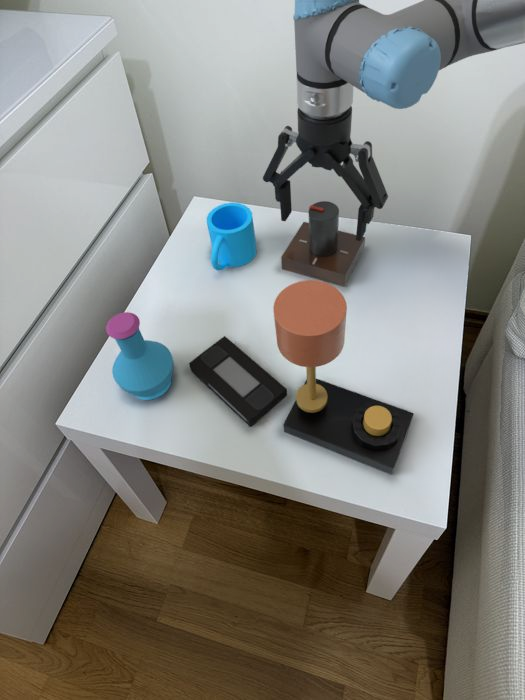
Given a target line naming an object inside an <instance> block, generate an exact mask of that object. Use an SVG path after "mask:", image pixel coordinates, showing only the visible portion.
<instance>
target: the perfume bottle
mask: <svg viewBox="0 0 525 700" xmlns="http://www.w3.org/2000/svg"><path fill="white" fill-rule="evenodd" d="M106 323H107V324H106V326H105V331H106V335H108V336H109V337H110V338H111V339H113V340H115V342H116V344H117V346H118V347H119V349H120V352H119V353H118V355H117V356H116V358H115V360H114V362H113V364H112V369H111V370H112V371H111V373H112V377H113V380H114V382H115V383H116V384H117V385H118V387H119V388H120V389H121V390H123V391H124V392H126V393H128V394H130V395H132V396H134V397H135V398H137V399H139V400H143V401H151V400H156V399H158V398H160V397H161V396H162V395H164V394H165V393H166V392H167V391H168V390H169V388H170V386H171V384H172V376H173V371H174V359H173V355H172V352H171V351H170V349H169V348H168V347H167V346H166V345H165V344H163V343H162V342H158V341H155V340H148V339H147V340H146V339H144V337H143V334H142V332H141V330H140V326H141V325H140V324H141V321H140V318H139V316H138V315H136V313H133V312H129V311H128V312H127V311H124V312H120V313H117V314H115V315H113V316H112V317H111V318H110V319H109V320H108V322H106Z"/></svg>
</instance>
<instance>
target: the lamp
mask: <svg viewBox="0 0 525 700" xmlns="http://www.w3.org/2000/svg"><path fill="white" fill-rule="evenodd" d="M347 310H348V305H347V301H346V298H345V297H344V295H343V294H342V292H341V291H340V290H339V289H338V288H336V287H335V286H334V285H333V284H331V283H329V282H325V281H322V280H317V279H316V280H315V279H308V280H306V279H305V280H300V281H297V282H294V283H291V284H289V285H288V286H286V287H284V288H283V289H282V290H281V291H280V292H279V293H278V294H277V296H276V298H275V299H274V303H273V318H274V328H275V337H276V345H277V348H278V351H279V353H280V354H281V356H283V358H284V359H285V360H286V361H288V362H290V363H292V364H293V365H296V366H298V367H304V368H306V379H307V384H304V383H303V384H302V385H301V386H300V387H299V388H298V389H297V390H296V393H295V401H296V402H297V404H298V406H299V407H300V408H301V409H302V410H303V411H306V412H310V413H314V412H318V411H320V410H322V409H323V408H324V407H325V406H326V404H327V399H328V395H327V392H326V390H325V389H324V388H323V387H322V386H321V385H319V384H316V379H317V368H318V367H322V366H325V365H327V364H329V363H331V362H333V361H334V360H335V359H336V358H338V357H339V356H340V354H341V353H342V351H343V349H344V346H345V342H346V341H345V339H346V325H347Z"/></svg>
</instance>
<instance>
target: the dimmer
mask: <svg viewBox="0 0 525 700" xmlns="http://www.w3.org/2000/svg"><path fill="white" fill-rule="evenodd" d="M339 218H340V209H339V207H338V205H337V204H335V203H333V202H331V201H329V200H322V201H317V202H314V203H313V204H310V205H309V207H308V223H309V249H310V251H311V252H312V253H313V254H315V255H317V256H322V257H324V256H329V255H332V254H333V253H335V252H336V250H337V248H338V230H339V221H340V219H339Z"/></svg>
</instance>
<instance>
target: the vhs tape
mask: <svg viewBox="0 0 525 700" xmlns="http://www.w3.org/2000/svg"><path fill="white" fill-rule="evenodd" d="M188 366H189V368H190V370H191V372H192V373H193V374H194V375H195V376H196V377H197V378H198V379H199V380H200V381H201V382H202V383H203V384H204V385H205V386H207V388H208V389H210V390H211V391H212V392H213V394H214V395H216V396H217V397H218V398H219V399H220V400H221V401H222V402H223V403H224V404H225V405H227V407H228V408H230V410H232V411H233V413H235V414H236V415H237V416H238V417H239V418H240V419H241V420H242V421H243V422H244V423H245V424H246V425H247V426H248V427H250V428H251V427H252V426H253V425H255V424H256V423H257V422H258V421H260V420H261V419H262V418H263V417H264V416H265V415H267V413H269V412H270V411H271V410H272V409H274V407H275V406H277V405H278V404H279V403H281V401H283V400H284V399H285V398H286V397H287V396H288V391H287V388H286V387H285V386H284V385H283V384H282V383H280V382H279V381H278V380H277V379H275V377H273V376H272V375H271V374H270V373H269V372H268V371H266V370H265V369H264V368H263V367H262V366H260V365H259V364H258V363H257V362H256V361H255V360H254V359H252V358H251V357H250V356H249V355H248V354H247V353H246V352H244V351H243V350H242V349H241V348H240V347H238V346H237V345H236V344H235V343H234V342H233V341H232V340H230V339H229V338H228V337H226V335H224V336H223V337H221V338H220V339H219V340H217V341H216V342H214V343H213V344H211V346H209V347H208V348H207V349H205V350H204V351H203V352H202V353H200V354H199V355H198V356H196V357H195V358H194V359H192V360H191V361H190V362H189V363H188Z"/></svg>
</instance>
